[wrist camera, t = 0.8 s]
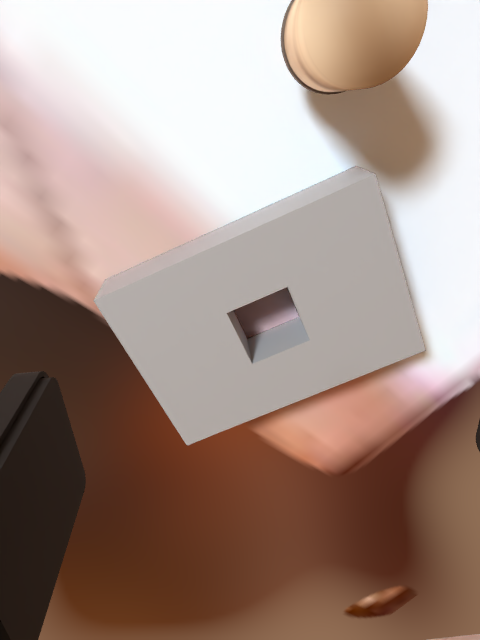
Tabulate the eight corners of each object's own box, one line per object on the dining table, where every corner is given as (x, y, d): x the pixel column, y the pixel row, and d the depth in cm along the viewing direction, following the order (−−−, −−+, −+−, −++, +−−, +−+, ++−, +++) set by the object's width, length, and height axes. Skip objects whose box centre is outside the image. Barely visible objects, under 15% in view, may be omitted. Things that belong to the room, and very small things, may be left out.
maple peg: (348, -32, 26) (412, -92, 18) (375, 71, 29) (442, 57, 21) (258, 14, 27) (282, -25, 19) (292, 110, 30) (325, 113, 22)
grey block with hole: (355, 166, 31) (375, 173, 28) (404, 326, 37) (425, 350, 34) (105, 279, 34) (93, 300, 30) (188, 414, 40) (186, 445, 36)
